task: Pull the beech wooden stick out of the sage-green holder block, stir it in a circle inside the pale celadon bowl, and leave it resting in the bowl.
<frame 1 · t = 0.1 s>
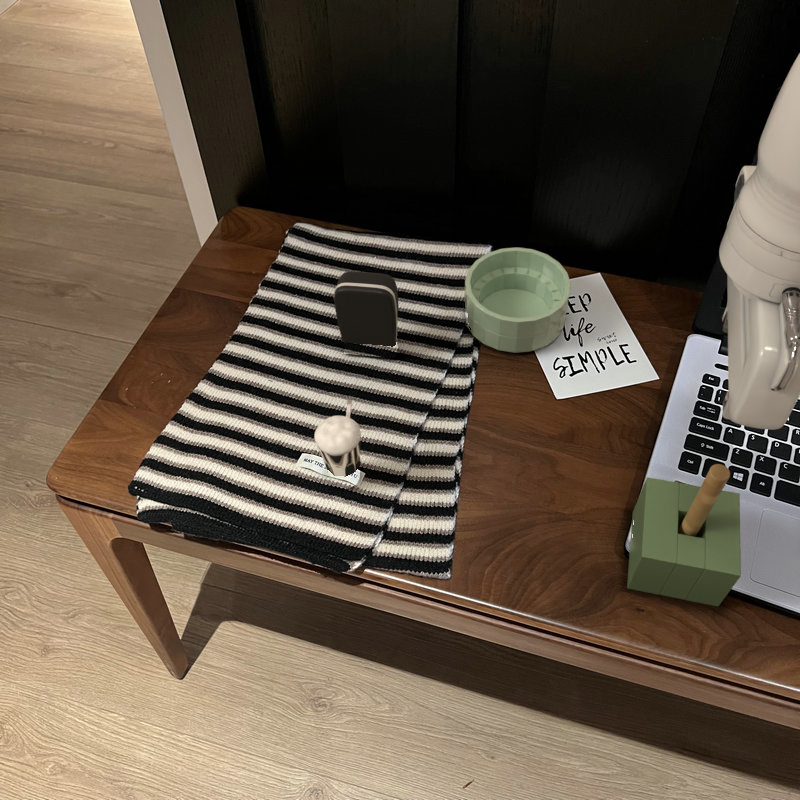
hand: (732, 368, 66), 19 cm above the table, tool pointing down, fingers open, 8 cm apart
milkshake: (347, 475, 84), on the table
stick: (694, 518, 70), point 8 cm above the table
holder: (673, 557, 76), on the table
bowl: (513, 317, 96), on the table
battery charger: (372, 347, 94), on the table
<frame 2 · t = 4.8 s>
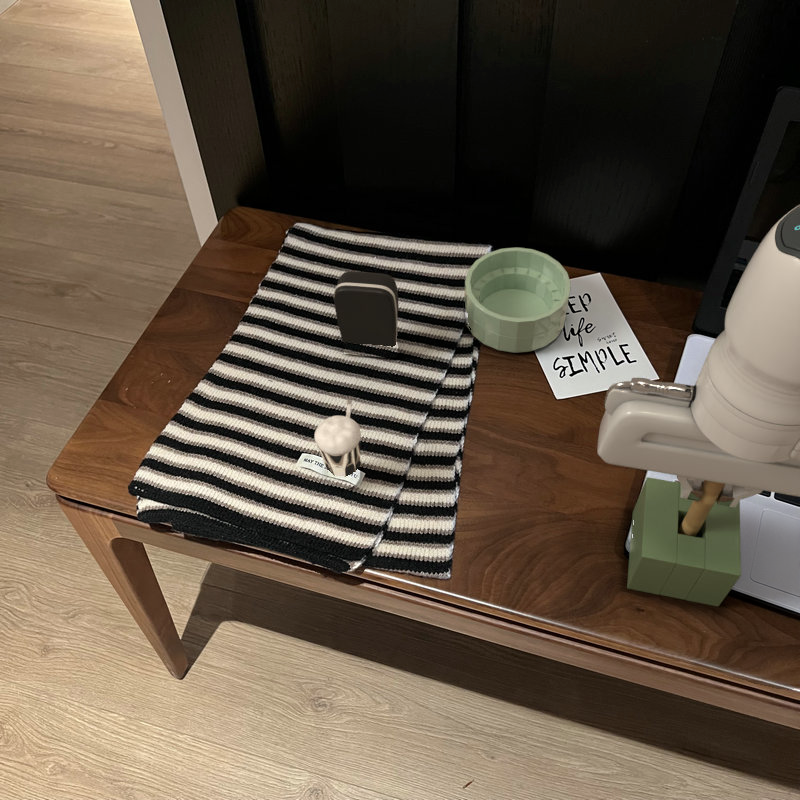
hand: (707, 496, 66), 12 cm above the table, tool pointing down, fingers closed on stick, 1 cm apart
stick: (694, 518, 70), point 8 cm above the table, touching gripper
everything else where it was.
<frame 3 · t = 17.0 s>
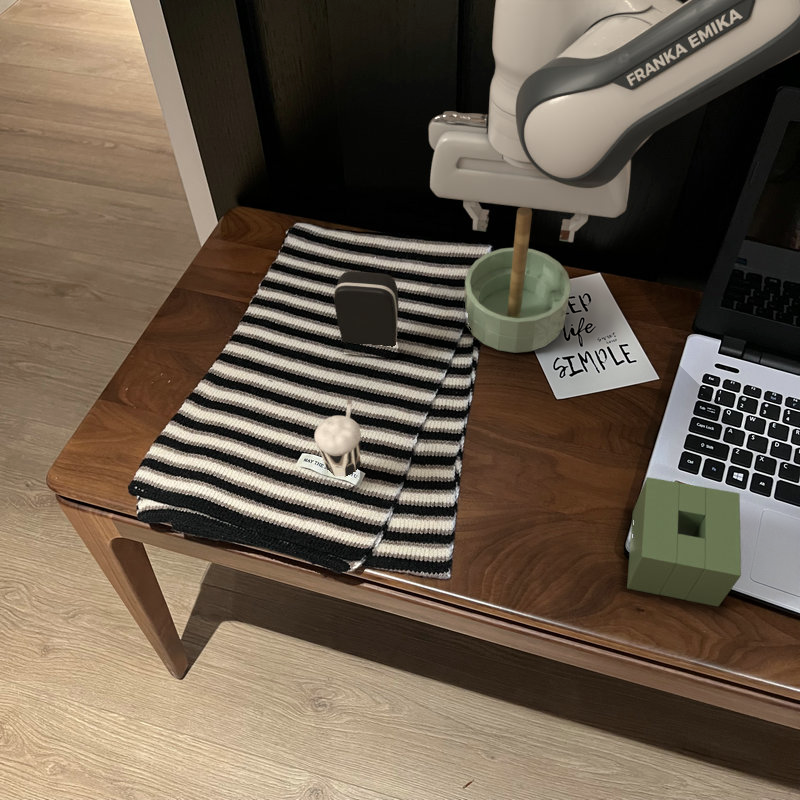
hand: (523, 232, 85), 14 cm above the table, tool pointing down, fingers open, 8 cm apart
stick: (518, 266, 89), point 9 cm above the table, touching bowl
everything else where it was.
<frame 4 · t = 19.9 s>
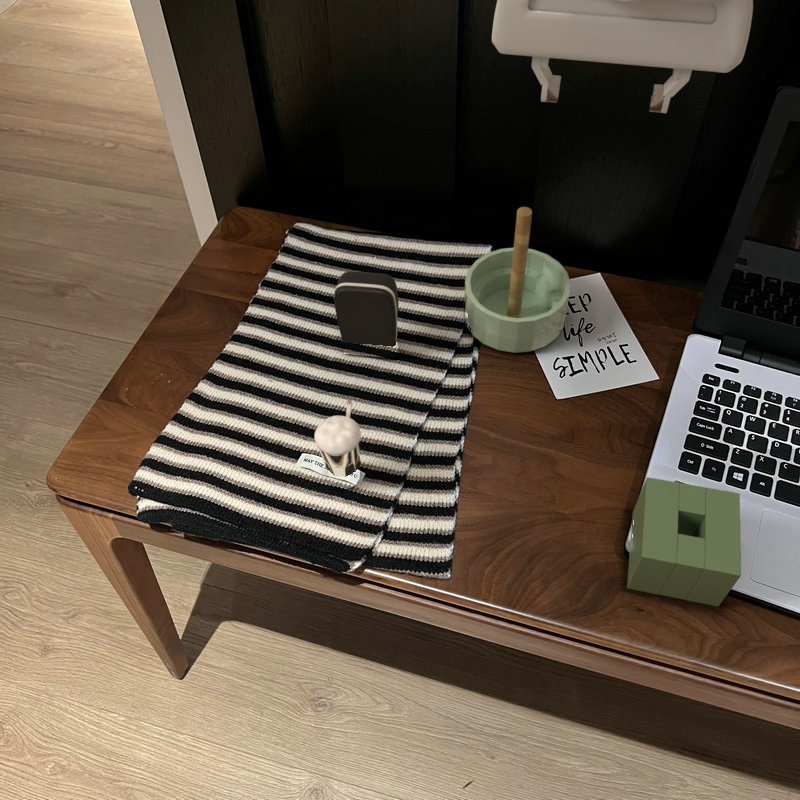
hand: (603, 104, 69), 31 cm above the table, tool pointing down, fingers open, 8 cm apart
nothing on the table moved.
at the end: stick inside the target area on the bowl (0.1 cm from its centre), point 8.6 cm above the bowl's base; the gripper is holding nothing; stick moved 34.8 cm from its start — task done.
